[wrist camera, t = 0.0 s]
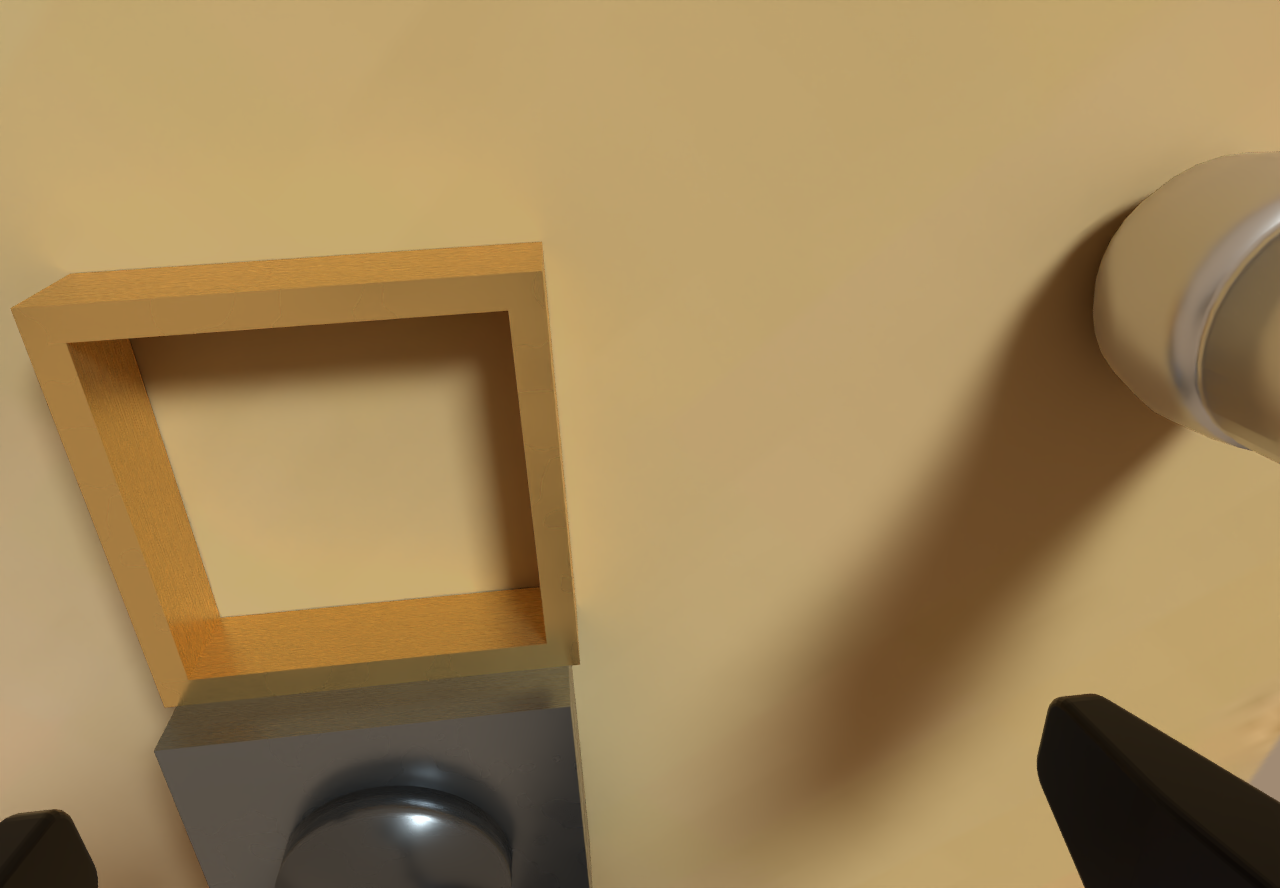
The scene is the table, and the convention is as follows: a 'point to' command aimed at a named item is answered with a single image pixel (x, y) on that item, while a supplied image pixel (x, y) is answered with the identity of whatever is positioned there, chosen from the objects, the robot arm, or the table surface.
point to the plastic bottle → (1201, 301)
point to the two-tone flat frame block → (336, 636)
